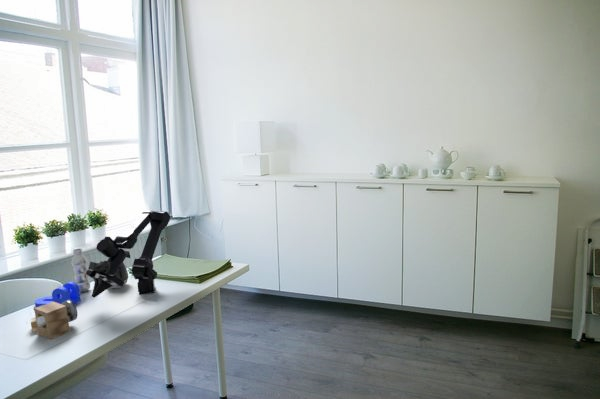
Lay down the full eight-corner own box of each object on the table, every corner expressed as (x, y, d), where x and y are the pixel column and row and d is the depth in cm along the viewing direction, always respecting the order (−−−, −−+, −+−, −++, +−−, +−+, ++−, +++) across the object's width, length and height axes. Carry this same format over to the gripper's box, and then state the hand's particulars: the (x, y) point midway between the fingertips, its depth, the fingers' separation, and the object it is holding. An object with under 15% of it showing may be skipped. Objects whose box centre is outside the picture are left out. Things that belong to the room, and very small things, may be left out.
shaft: (67, 317, 175) (64, 298, 173) (78, 321, 170) (75, 301, 169) (35, 330, 165) (31, 309, 163) (46, 335, 160) (43, 313, 159)
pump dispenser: (133, 285, 213) (130, 254, 211) (112, 291, 206) (108, 259, 204) (123, 280, 220) (120, 250, 218) (102, 287, 213) (98, 256, 210)
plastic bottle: (78, 289, 212) (72, 248, 208) (93, 288, 212) (87, 247, 209) (72, 294, 205) (66, 252, 202) (88, 293, 206) (82, 251, 202)
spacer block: (44, 325, 173) (42, 315, 173) (44, 329, 170) (42, 319, 169) (32, 328, 172) (30, 318, 171) (32, 332, 168) (30, 322, 167)
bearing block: (57, 326, 172) (53, 301, 170) (69, 331, 167) (66, 306, 165) (38, 333, 166) (34, 308, 165) (50, 339, 161) (46, 313, 160)
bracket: (81, 301, 197) (78, 281, 195) (68, 309, 189) (65, 288, 187) (44, 300, 200) (41, 281, 199) (30, 308, 192) (27, 288, 191)
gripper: (86, 250, 185) (64, 284, 178) (113, 255, 175) (90, 292, 168) (106, 262, 193) (85, 296, 186) (133, 269, 183) (112, 304, 176)
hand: (93, 297), depth 179 cm, fingers closed
